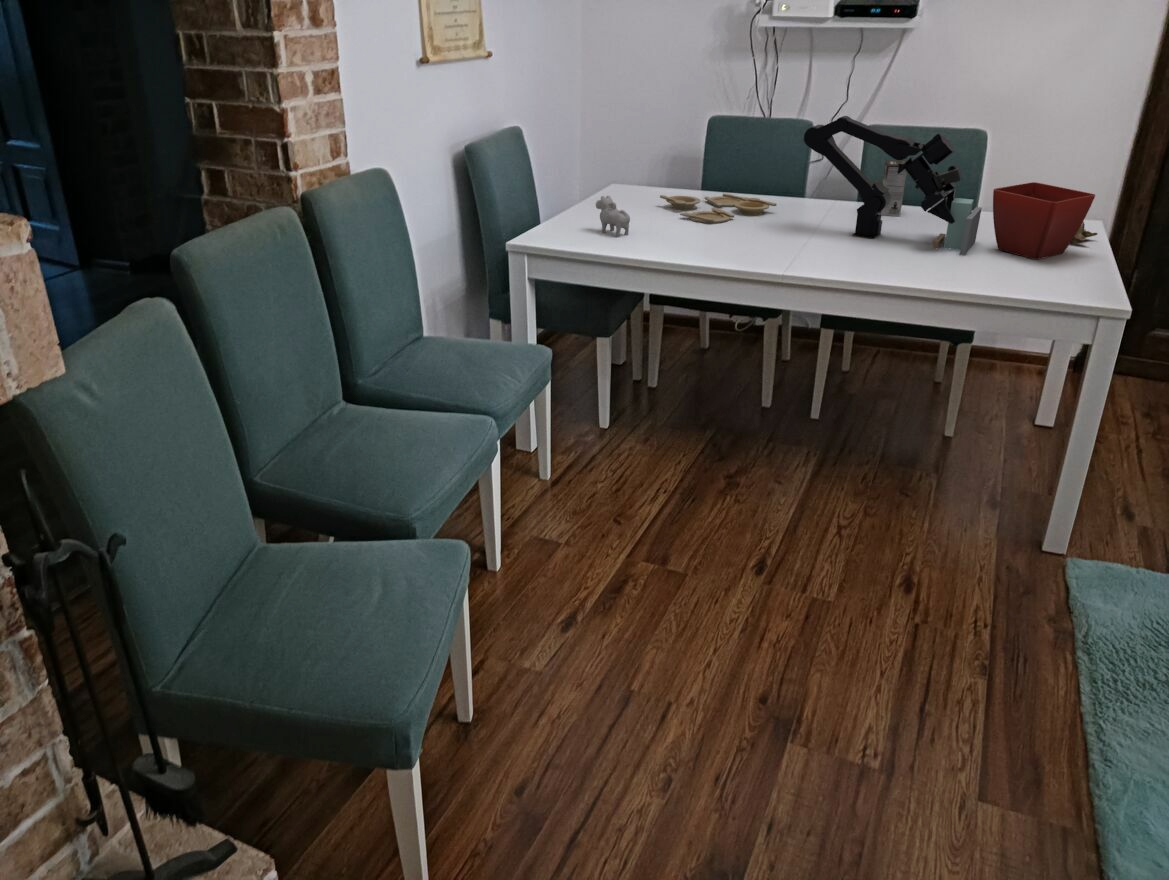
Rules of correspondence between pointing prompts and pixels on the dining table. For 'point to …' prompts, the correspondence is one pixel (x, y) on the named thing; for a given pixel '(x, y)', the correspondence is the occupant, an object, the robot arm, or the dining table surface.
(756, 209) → the tableware set
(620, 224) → the dog figurine
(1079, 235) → the ceramic sculpture
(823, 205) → the dining table surface
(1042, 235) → the plant pot
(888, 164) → the coffee box
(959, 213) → the cabinet box
